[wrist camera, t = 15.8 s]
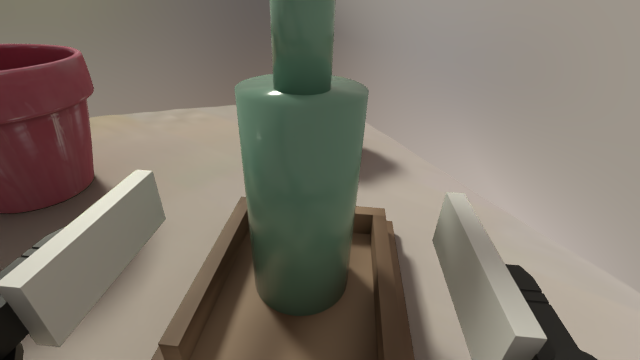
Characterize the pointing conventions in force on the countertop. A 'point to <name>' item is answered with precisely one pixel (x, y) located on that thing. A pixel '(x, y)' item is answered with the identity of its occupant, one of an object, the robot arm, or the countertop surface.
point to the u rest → (287, 330)
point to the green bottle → (301, 161)
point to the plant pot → (43, 126)
